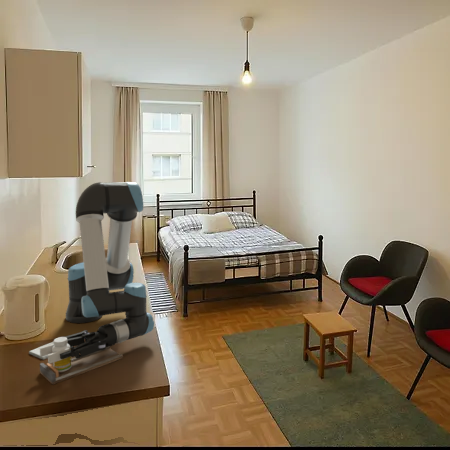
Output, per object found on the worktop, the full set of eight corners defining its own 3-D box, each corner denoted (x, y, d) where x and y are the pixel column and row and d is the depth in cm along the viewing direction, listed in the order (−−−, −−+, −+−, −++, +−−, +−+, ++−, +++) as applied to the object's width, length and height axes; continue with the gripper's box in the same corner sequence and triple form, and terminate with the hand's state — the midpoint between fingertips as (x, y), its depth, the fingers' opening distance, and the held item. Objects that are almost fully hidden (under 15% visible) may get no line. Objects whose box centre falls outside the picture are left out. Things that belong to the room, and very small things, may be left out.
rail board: (40, 372, 128) (39, 363, 128) (108, 348, 145) (108, 340, 145) (52, 384, 121) (51, 375, 121) (122, 358, 138) (122, 349, 138)
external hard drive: (29, 355, 141) (60, 342, 152) (43, 361, 137) (74, 347, 147) (28, 350, 141) (60, 338, 151) (43, 356, 137) (74, 343, 147)
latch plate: (46, 370, 128) (46, 363, 128) (49, 369, 129) (49, 362, 129) (56, 378, 123) (55, 371, 123) (58, 377, 124) (58, 370, 124)
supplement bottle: (74, 368, 128) (72, 339, 127) (58, 374, 124) (56, 344, 123) (66, 362, 132) (64, 334, 130) (50, 368, 128) (48, 339, 127)
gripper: (127, 352, 134) (57, 378, 118) (99, 335, 147) (33, 357, 131) (126, 331, 133) (56, 354, 117) (99, 316, 146) (32, 335, 129)
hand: (44, 355), depth 124 cm, fingers open, 5 cm apart
